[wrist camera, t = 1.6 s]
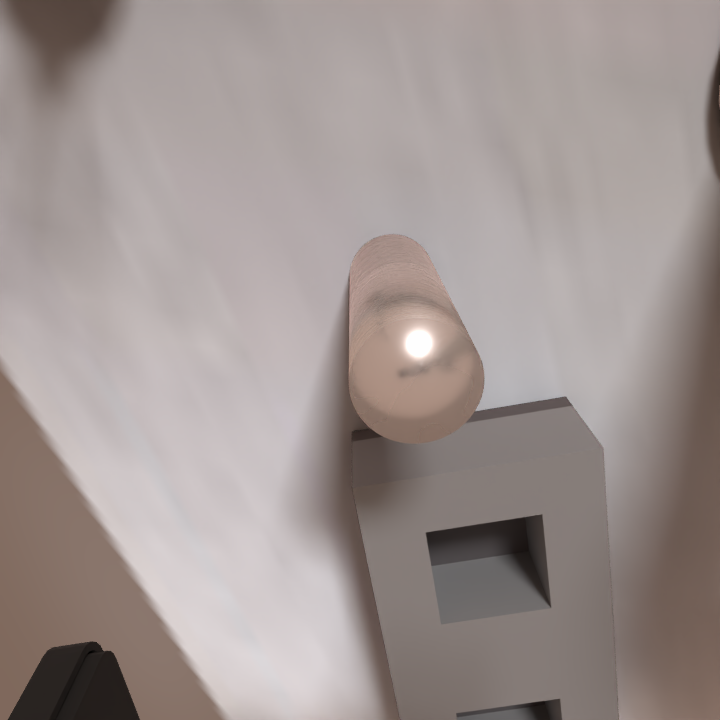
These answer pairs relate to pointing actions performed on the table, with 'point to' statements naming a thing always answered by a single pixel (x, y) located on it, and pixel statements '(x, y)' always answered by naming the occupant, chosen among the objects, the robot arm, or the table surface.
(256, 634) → the table surface
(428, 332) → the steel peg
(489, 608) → the hole block
